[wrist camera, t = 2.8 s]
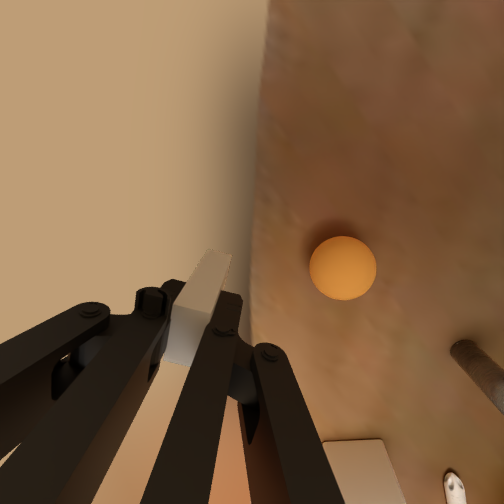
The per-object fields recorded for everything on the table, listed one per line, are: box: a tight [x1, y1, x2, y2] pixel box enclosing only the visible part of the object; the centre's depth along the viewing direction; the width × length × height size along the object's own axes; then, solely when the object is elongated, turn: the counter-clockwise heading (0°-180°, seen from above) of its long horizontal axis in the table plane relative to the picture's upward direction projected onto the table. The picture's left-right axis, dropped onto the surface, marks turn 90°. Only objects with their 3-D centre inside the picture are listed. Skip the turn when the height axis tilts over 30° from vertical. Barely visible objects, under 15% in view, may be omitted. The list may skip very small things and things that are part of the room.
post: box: [450, 340, 504, 415], centre depth 25 cm, size 3×3×9 cm
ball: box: [309, 236, 376, 300], centre depth 25 cm, size 6×6×6 cm
